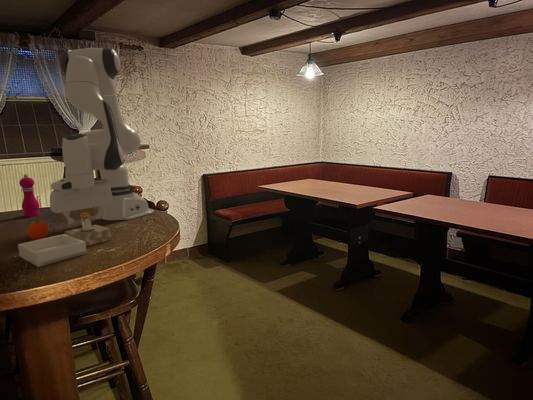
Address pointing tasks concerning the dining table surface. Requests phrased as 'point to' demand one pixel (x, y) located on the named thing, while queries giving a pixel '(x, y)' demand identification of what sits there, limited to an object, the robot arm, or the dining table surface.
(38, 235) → the clementine
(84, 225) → the pin
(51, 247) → the tray
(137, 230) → the dining table surface
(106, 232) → the block
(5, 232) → the dining table surface
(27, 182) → the pepper mill
